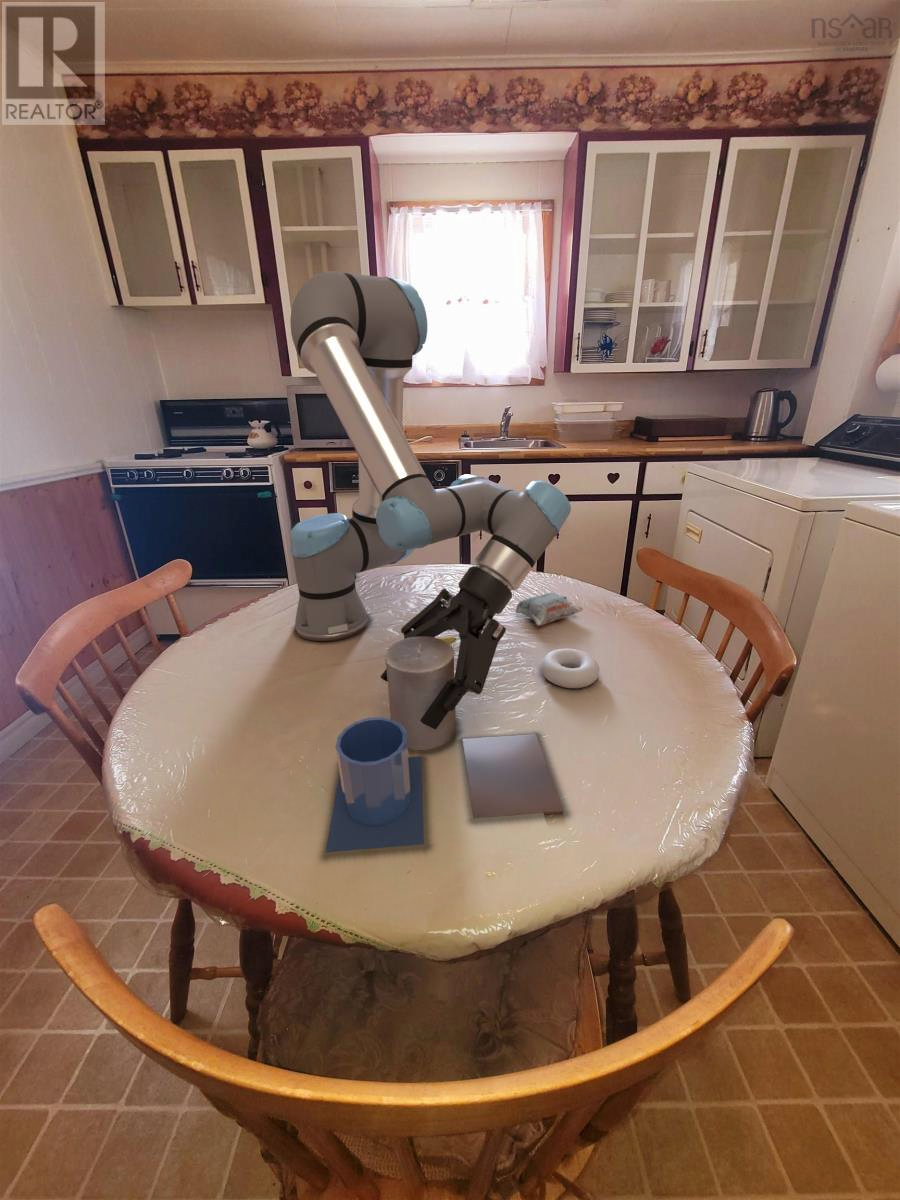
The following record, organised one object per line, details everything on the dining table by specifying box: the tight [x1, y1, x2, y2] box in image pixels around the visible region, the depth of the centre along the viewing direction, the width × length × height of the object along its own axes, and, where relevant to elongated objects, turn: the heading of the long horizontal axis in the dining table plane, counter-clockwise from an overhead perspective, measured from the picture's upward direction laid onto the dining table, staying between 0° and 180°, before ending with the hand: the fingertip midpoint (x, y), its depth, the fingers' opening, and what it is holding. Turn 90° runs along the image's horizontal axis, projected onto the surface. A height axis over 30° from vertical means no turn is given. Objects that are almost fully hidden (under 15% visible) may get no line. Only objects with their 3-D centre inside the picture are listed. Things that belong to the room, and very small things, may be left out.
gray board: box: [461, 733, 565, 819], centre depth 65 cm, size 14×11×1 cm
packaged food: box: [514, 592, 583, 627], centre depth 105 cm, size 9×12×5 cm
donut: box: [540, 648, 600, 689], centre depth 85 cm, size 10×4×10 cm
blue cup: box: [335, 716, 411, 826], centre depth 59 cm, size 8×8×10 cm
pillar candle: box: [385, 636, 457, 751], centre depth 70 cm, size 10×10×15 cm
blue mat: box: [325, 756, 425, 853], centre depth 61 cm, size 14×11×1 cm
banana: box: [438, 636, 457, 645], centre depth 95 cm, size 8×2×4 cm, turn 88°
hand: (406, 701), depth 69 cm, fingers open, 12 cm apart
